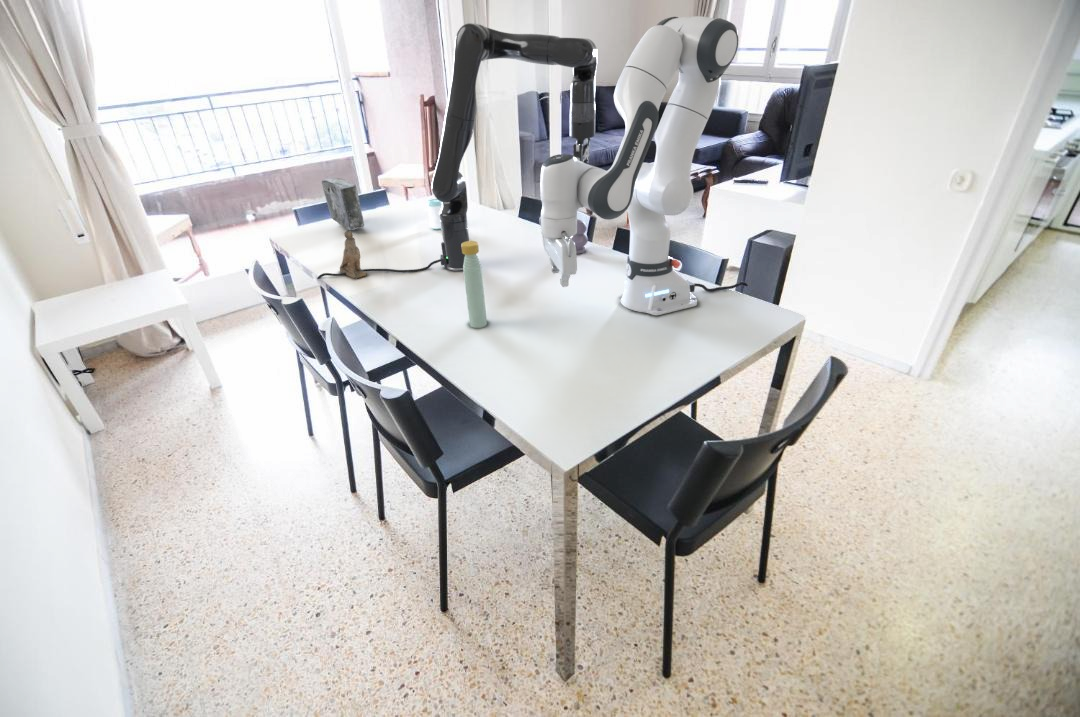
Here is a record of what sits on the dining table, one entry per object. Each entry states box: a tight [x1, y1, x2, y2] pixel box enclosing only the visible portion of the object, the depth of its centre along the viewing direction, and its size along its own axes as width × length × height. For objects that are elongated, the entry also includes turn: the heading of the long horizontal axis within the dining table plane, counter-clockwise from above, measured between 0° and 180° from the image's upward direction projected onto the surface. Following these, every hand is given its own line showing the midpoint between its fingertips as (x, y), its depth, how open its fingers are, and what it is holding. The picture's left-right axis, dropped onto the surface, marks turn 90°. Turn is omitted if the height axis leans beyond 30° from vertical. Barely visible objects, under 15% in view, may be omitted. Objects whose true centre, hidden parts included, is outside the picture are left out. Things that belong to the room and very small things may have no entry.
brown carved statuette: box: [339, 230, 367, 280], centre depth 174 cm, size 12×6×18 cm, turn 43°
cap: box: [461, 240, 480, 255], centre depth 130 cm, size 4×4×2 cm
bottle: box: [462, 253, 488, 329], centre depth 135 cm, size 5×5×23 cm
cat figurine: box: [572, 218, 589, 255], centre depth 187 cm, size 9×8×12 cm
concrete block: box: [321, 177, 365, 231], centre depth 223 cm, size 27×9×20 cm, turn 36°
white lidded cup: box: [426, 198, 443, 230], centre depth 220 cm, size 7×7×12 cm
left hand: (581, 177), depth 154 cm, fingers open, 8 cm apart
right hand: (559, 278), depth 129 cm, fingers open, 8 cm apart
